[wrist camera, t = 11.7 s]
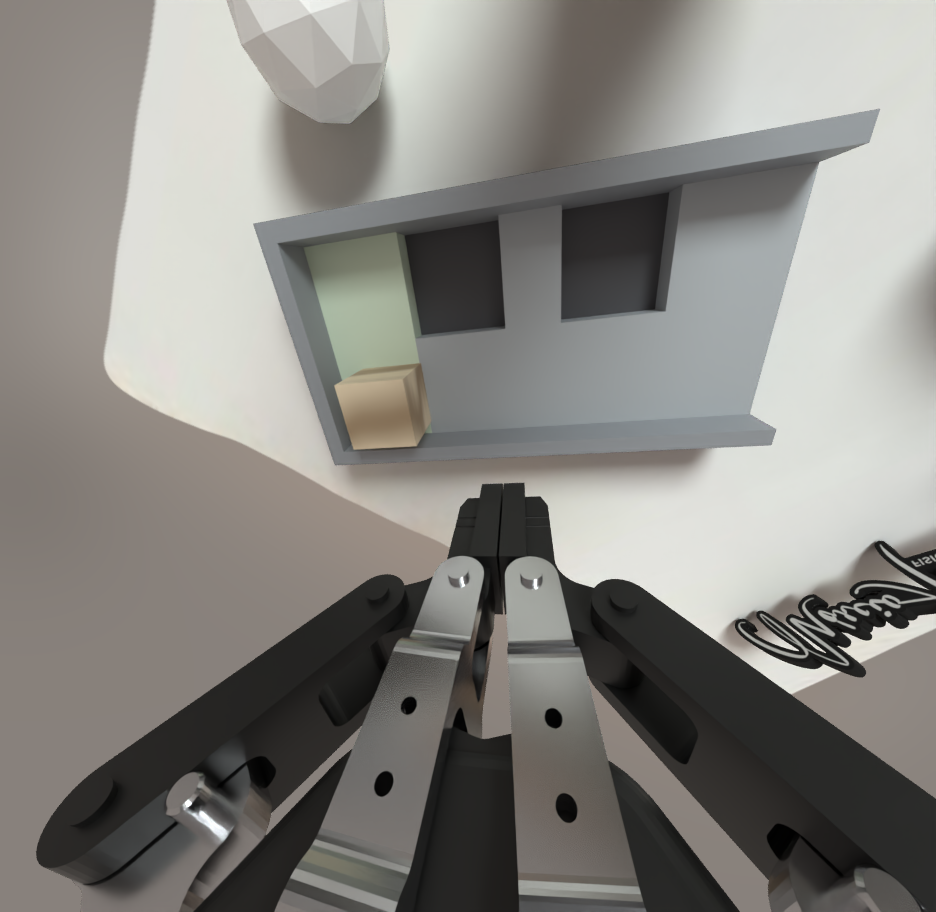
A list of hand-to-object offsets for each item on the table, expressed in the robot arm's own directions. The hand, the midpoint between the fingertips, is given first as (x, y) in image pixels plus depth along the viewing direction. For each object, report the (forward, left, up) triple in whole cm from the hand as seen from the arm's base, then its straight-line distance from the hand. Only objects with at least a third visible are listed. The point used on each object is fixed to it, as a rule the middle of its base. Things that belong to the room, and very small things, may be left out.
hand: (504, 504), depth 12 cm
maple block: (0, -10, -17) cm, 19 cm away
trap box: (-4, +2, -19) cm, 19 cm away
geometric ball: (-21, -9, -19) cm, 30 cm away
